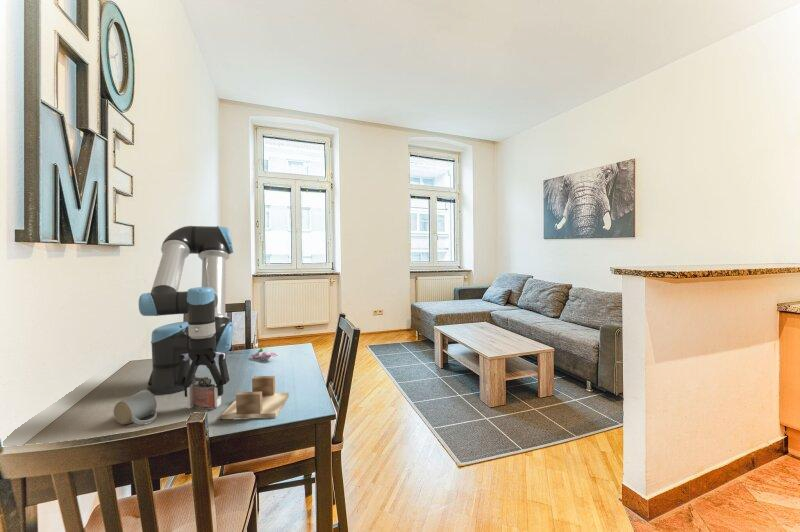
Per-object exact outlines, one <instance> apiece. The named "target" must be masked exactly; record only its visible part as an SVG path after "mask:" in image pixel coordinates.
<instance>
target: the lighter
mask: <svg viewBox="0 0 800 532" xmlns="http://www.w3.org/2000/svg"><path fill="white" fill-rule="evenodd" d="M195 381H196V383H195V384H193V389H194V405H193V406H192V407H195V408H196V409H195V408H194V409H195V410H196V411H197V410H198V411H203V412H211V410H212V411H215V410H216V409H217V407H215V398H214V387H215V386H216V384H213V383H212V378H209V377H208V376H205V377H202V376H198V375H197V376H196V378H195ZM214 409H215V410H214ZM205 410H207V411H205Z"/></svg>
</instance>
